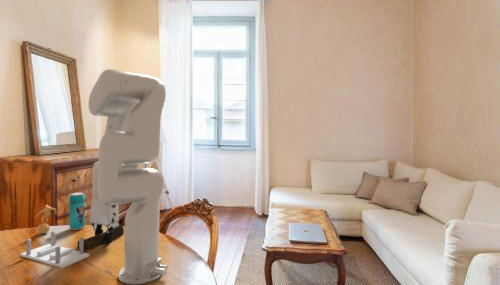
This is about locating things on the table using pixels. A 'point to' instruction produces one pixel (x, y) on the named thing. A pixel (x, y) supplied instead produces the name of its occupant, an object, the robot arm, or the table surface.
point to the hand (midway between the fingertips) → (103, 241)
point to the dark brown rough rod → (101, 238)
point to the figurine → (45, 227)
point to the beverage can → (77, 211)
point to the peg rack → (55, 253)
